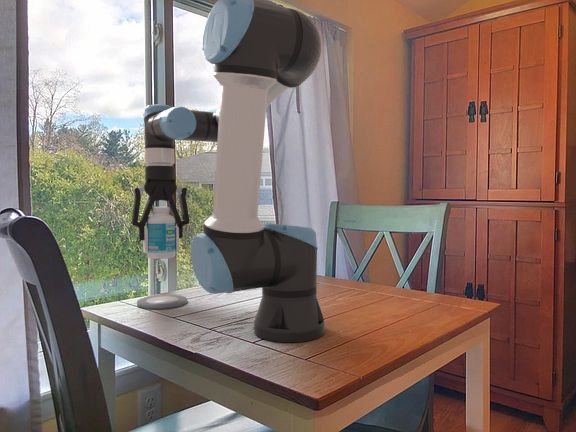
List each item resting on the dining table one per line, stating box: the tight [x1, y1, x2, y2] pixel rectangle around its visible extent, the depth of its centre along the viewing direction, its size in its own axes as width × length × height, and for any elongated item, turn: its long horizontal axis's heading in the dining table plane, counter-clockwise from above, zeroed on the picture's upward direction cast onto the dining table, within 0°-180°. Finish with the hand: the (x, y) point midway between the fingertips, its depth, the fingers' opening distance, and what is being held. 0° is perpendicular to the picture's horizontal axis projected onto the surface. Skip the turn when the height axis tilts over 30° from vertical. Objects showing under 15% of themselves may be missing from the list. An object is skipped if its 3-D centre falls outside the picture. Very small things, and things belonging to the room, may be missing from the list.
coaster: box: [136, 294, 188, 310], centre depth 128 cm, size 13×13×1 cm
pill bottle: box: [145, 206, 177, 260], centre depth 127 cm, size 8×7×14 cm
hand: (161, 251), depth 128 cm, fingers closed on pill bottle, 7 cm apart
